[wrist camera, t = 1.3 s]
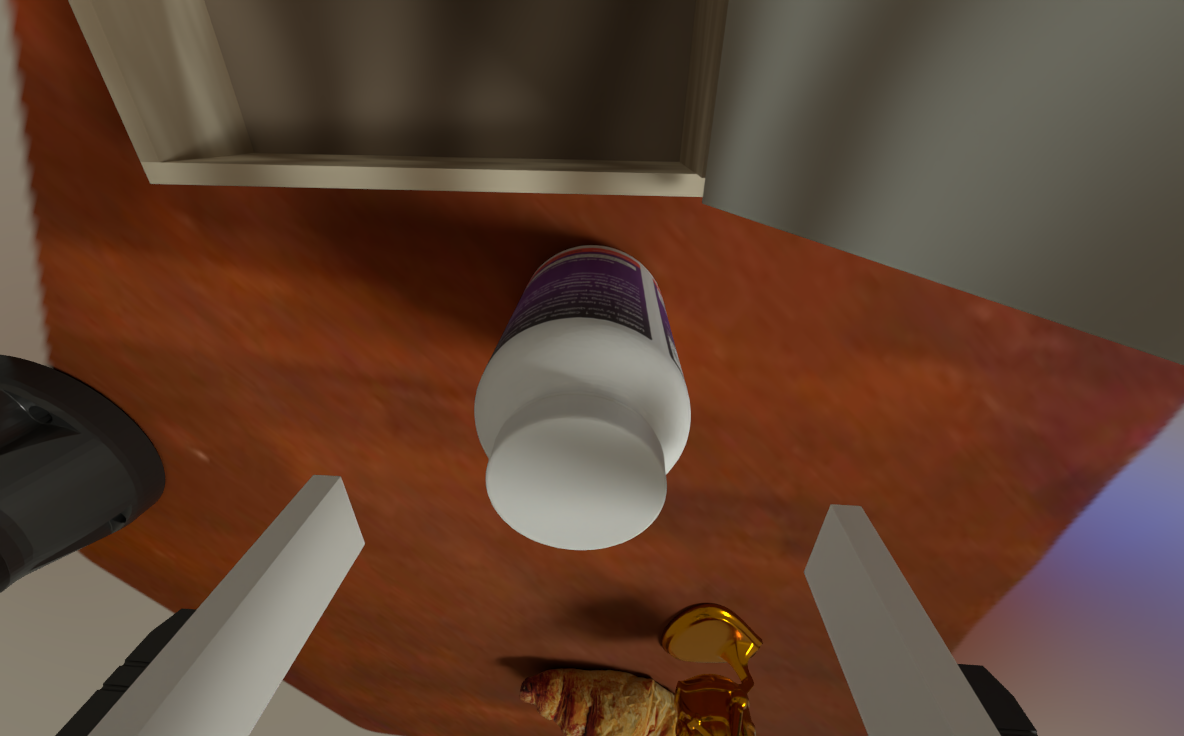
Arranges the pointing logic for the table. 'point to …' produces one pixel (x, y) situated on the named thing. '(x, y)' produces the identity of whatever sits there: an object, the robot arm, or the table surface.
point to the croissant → (601, 702)
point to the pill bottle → (583, 403)
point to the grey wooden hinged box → (714, 122)
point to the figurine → (708, 701)
